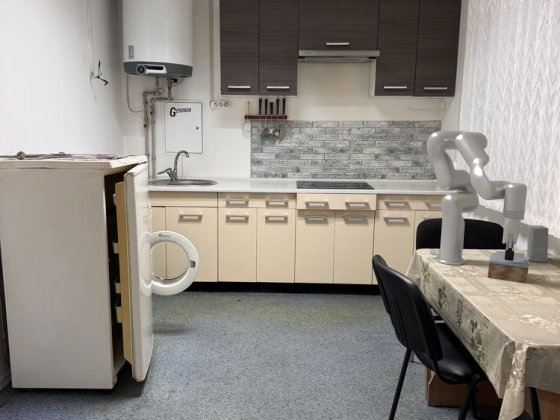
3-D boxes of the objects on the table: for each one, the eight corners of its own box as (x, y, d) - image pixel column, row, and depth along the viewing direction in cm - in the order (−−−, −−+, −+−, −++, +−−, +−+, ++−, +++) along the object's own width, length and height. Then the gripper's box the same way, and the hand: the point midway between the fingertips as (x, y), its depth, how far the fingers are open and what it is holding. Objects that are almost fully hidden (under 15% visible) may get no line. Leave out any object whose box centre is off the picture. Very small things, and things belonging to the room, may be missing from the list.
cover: (489, 262, 182) (489, 253, 181) (491, 254, 194) (492, 245, 193) (528, 268, 175) (529, 258, 175) (528, 259, 187) (529, 250, 187)
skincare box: (547, 262, 205) (551, 228, 203) (530, 261, 207) (533, 227, 204) (540, 257, 213) (544, 224, 211) (524, 256, 215) (527, 224, 212)
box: (487, 277, 183) (489, 263, 182) (490, 268, 195) (491, 255, 194) (526, 283, 176) (528, 268, 175) (527, 274, 188) (528, 260, 187)
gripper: (504, 211, 184) (499, 254, 188) (501, 216, 171) (497, 263, 175) (524, 212, 181) (520, 256, 184) (523, 218, 168) (518, 266, 171)
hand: (508, 259), depth 179 cm, fingers closed
